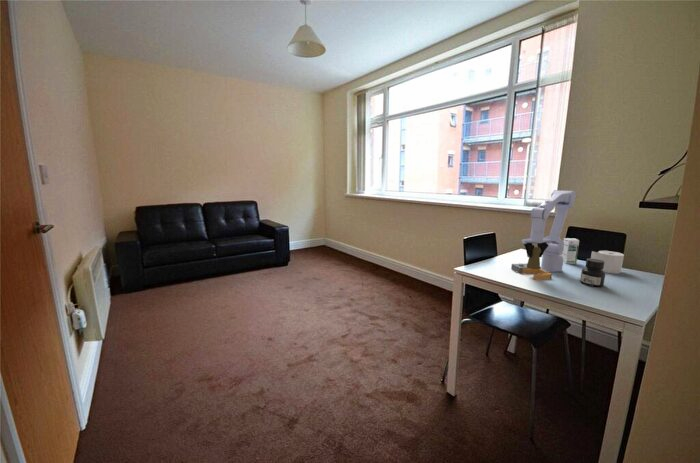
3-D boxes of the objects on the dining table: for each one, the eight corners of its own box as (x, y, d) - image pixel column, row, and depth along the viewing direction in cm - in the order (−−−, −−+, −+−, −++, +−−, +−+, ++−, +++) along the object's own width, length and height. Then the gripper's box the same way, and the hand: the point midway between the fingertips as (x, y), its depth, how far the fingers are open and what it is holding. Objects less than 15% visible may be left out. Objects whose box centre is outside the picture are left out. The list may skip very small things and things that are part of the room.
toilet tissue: (626, 273, 159) (629, 255, 157) (603, 273, 159) (606, 255, 157) (609, 267, 169) (612, 250, 167) (588, 267, 169) (591, 250, 167)
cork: (538, 266, 156) (541, 246, 154) (541, 269, 150) (543, 248, 148) (525, 265, 158) (527, 245, 156) (527, 268, 153) (529, 247, 150)
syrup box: (565, 263, 176) (569, 239, 174) (560, 260, 182) (563, 237, 179) (576, 264, 175) (580, 240, 173) (570, 261, 181) (574, 237, 178)
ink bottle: (575, 282, 147) (578, 258, 144) (585, 279, 150) (589, 256, 148) (597, 289, 138) (601, 264, 136) (608, 286, 142) (612, 262, 139)
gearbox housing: (531, 268, 167) (532, 261, 167) (553, 278, 151) (554, 271, 150) (511, 268, 166) (511, 262, 166) (531, 279, 150) (532, 271, 149)
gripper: (529, 233, 146) (526, 259, 149) (557, 232, 147) (553, 258, 150) (520, 230, 153) (517, 255, 156) (546, 229, 154) (543, 254, 157)
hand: (534, 256), depth 153 cm, fingers closed on cork, 5 cm apart
